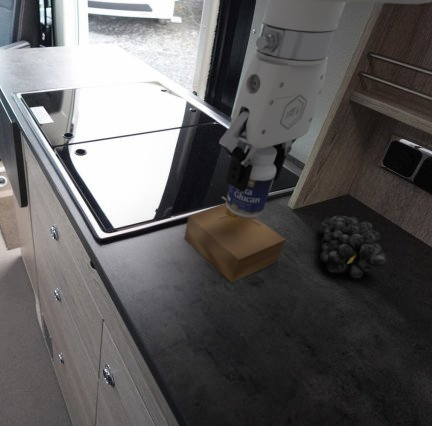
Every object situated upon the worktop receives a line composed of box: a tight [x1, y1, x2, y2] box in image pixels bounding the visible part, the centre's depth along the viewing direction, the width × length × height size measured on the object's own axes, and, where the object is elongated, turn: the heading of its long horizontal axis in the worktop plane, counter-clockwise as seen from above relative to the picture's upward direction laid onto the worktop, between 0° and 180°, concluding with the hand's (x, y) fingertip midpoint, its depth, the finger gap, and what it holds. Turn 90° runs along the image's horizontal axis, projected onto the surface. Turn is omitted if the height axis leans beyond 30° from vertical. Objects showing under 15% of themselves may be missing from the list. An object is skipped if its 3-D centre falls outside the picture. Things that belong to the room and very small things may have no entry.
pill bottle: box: [225, 144, 277, 218], centre depth 52 cm, size 5×5×10 cm
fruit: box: [319, 215, 387, 279], centre depth 61 cm, size 9×8×15 cm
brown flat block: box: [183, 196, 286, 284], centre depth 64 cm, size 14×14×5 cm
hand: (252, 179), depth 52 cm, fingers closed on pill bottle, 5 cm apart
